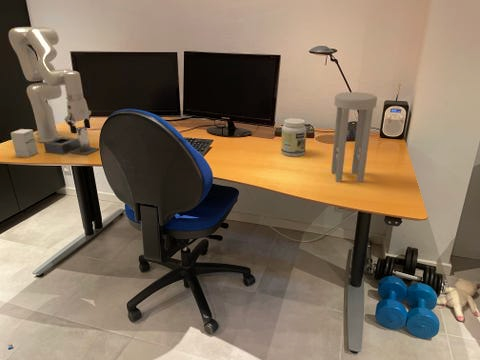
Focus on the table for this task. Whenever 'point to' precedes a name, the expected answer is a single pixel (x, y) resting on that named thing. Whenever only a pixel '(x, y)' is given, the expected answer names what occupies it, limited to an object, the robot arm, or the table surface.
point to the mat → (85, 152)
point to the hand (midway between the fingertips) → (81, 130)
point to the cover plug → (83, 139)
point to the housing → (61, 145)
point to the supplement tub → (293, 137)
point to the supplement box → (24, 143)
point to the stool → (365, 107)
